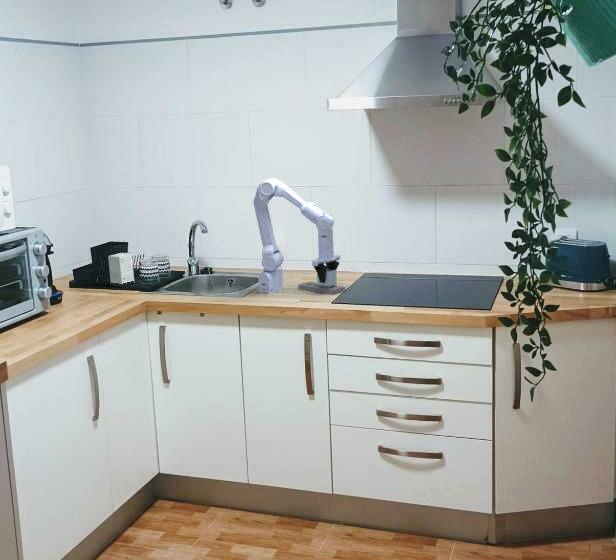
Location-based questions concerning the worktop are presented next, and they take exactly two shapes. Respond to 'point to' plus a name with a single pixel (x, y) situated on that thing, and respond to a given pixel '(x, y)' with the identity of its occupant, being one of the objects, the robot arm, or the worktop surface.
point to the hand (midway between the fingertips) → (326, 281)
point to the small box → (121, 268)
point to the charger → (328, 279)
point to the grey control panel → (321, 288)
